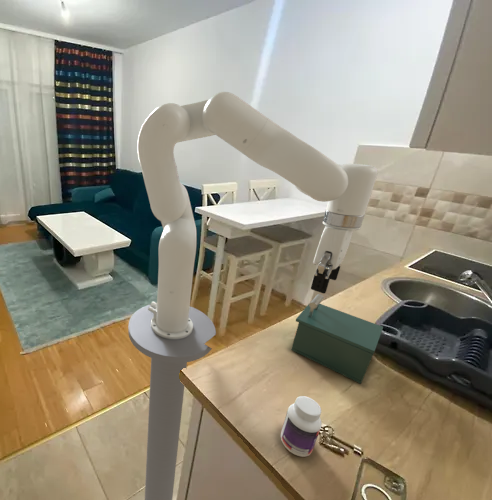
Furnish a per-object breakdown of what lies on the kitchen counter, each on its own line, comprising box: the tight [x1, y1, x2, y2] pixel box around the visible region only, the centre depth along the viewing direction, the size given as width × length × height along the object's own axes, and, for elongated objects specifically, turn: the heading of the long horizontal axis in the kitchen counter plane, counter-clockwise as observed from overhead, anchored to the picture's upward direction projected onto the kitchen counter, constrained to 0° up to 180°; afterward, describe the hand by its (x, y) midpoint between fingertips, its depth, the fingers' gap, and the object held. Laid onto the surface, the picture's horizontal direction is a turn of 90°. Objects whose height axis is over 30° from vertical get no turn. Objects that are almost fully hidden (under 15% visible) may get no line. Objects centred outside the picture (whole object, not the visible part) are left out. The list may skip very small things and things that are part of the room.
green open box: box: [290, 322, 374, 385], centre depth 75 cm, size 16×13×9 cm
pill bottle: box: [280, 395, 323, 458], centre depth 52 cm, size 5×5×10 cm
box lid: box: [295, 293, 384, 355], centre depth 72 cm, size 16×13×5 cm
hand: (323, 284), depth 73 cm, fingers open, 9 cm apart
